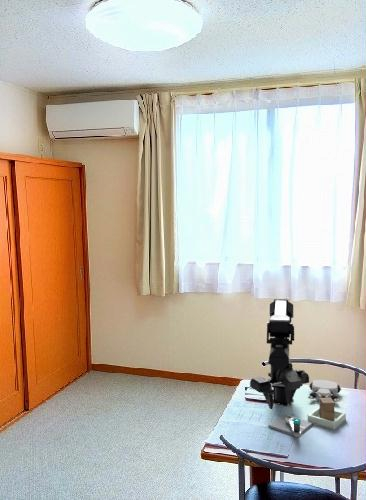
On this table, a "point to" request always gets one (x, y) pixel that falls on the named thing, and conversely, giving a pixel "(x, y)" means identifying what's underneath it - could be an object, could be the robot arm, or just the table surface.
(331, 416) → the brown block
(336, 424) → the tray
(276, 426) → the crank base
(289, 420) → the crank
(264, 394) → the robot arm
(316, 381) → the robot toy
